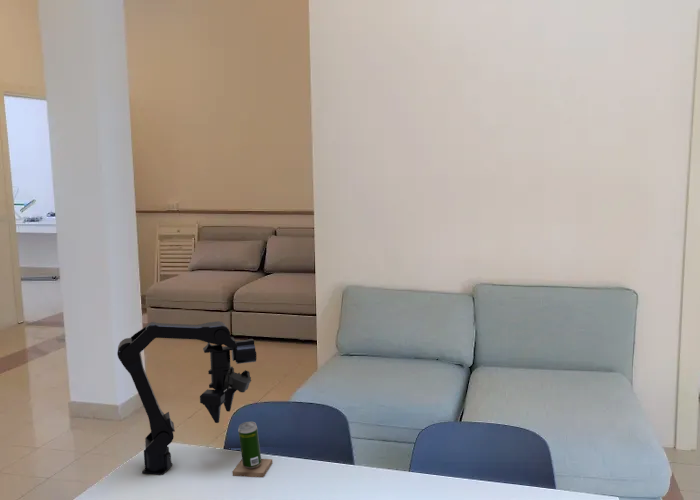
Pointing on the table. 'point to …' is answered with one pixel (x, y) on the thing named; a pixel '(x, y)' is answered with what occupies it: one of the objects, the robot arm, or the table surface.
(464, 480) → the table surface
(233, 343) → the robot arm
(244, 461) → the beer can
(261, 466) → the brown square coaster
